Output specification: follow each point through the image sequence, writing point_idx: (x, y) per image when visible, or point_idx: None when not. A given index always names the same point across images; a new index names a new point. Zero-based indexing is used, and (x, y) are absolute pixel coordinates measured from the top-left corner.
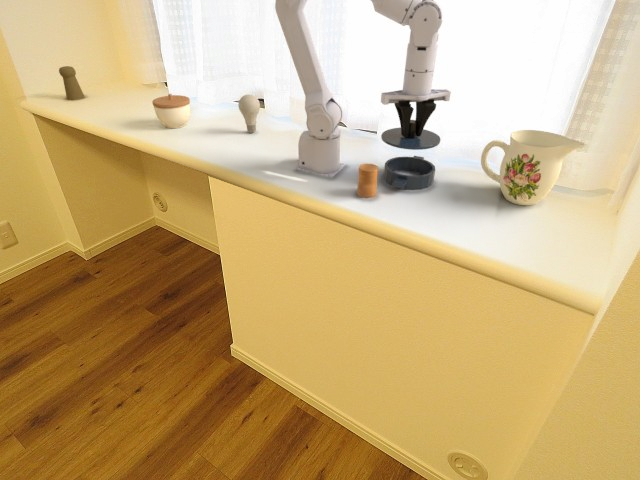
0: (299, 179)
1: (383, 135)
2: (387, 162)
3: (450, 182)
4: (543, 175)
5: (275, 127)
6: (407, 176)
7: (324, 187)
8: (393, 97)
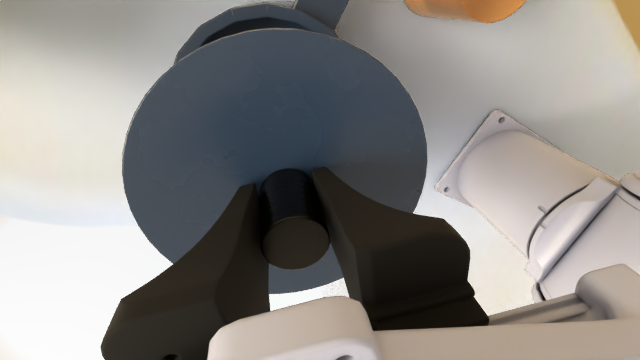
0: (575, 103)
1: (411, 198)
2: None
3: (111, 89)
4: None
5: None
6: (297, 10)
7: (533, 49)
8: (617, 332)
